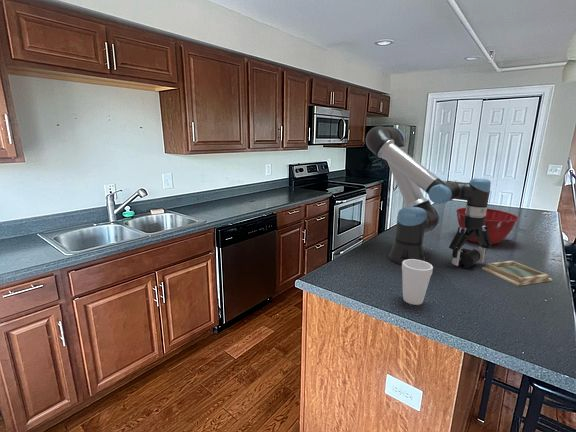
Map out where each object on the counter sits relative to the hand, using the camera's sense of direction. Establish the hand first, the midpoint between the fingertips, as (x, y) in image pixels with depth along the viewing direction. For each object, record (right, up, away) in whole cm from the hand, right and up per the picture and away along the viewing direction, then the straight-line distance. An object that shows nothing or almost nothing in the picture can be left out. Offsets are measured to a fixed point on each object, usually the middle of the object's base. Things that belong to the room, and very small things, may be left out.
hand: (467, 263), depth 138 cm
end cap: (0, -1, +1) cm, 2 cm away
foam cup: (-36, -8, -30) cm, 47 cm away
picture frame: (+15, -4, -8) cm, 18 cm away
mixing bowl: (+27, +7, +35) cm, 44 cm away
